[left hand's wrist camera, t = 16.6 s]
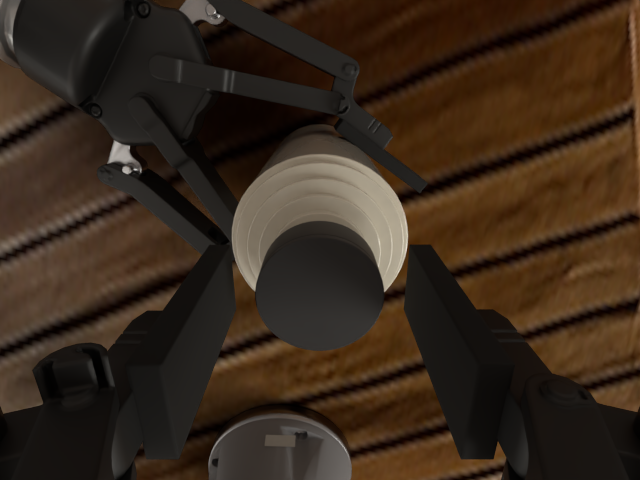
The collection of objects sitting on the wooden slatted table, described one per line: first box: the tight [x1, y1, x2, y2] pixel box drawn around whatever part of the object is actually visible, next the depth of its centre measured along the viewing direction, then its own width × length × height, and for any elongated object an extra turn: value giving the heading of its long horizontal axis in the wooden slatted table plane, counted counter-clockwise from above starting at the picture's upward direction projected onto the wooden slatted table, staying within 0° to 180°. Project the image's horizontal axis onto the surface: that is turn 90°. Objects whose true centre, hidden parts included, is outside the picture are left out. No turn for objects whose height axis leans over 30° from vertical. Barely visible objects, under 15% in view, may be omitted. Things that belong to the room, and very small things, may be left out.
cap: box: [255, 221, 384, 351], centre depth 14 cm, size 4×4×2 cm
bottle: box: [232, 124, 408, 292], centre depth 22 cm, size 8×8×19 cm
